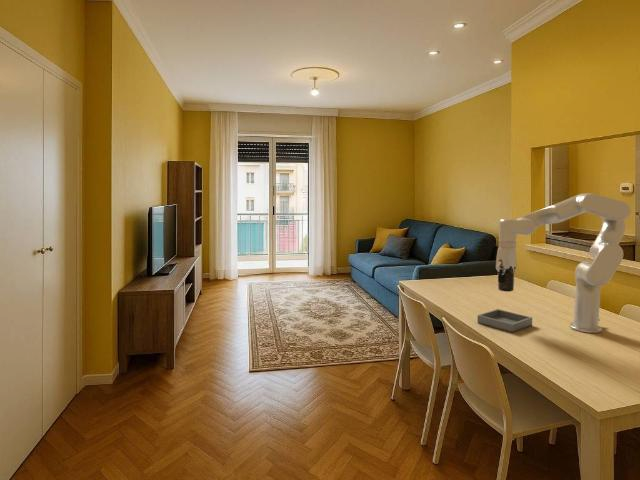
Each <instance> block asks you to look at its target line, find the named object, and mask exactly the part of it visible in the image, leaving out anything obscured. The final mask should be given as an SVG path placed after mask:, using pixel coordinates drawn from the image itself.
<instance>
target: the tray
mask: <svg viewBox="0 0 640 480" xmlns="http://www.w3.org/2000/svg"><path fill="white" fill-rule="evenodd" d="M476 323H477V324H479V323H480V325H483V324H484V325H483V326H486V325H487V327H490V328H493V329H496V330H500V331H504V332H507V333H511V334H513V333H514V334H515V333H517V332H519V331H522V330H524V329H526V328H530V327H532V326H533V317H531V316H527V315H523V314H519V313H515V312H512V311H507V310H503V309H498V308H496V309H492V310H490V311H487V312H486V311H485V312H484V313H481V314H480V313H479V314H477V322H476Z"/></svg>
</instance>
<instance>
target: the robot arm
mask: <svg viewBox="0 0 640 480" xmlns="http://www.w3.org/2000/svg"><path fill="white" fill-rule="evenodd" d="M584 213H588V214H591V215H594V216H598V217H600V218H601V221H602V226H601V229H600V231H599V233H598V234H597V236H596V238H595V240H594V241H593V243H592V244H591V246H590V248H589V255H590V257H591V258H592V259H593V261H587V260H586V261H582V262H580V263H578V264H577V266H576V267H575V269H574V278H575V295H574V297H575V298H574V312H573V313H574V315H573V322H570V324H569V328H571V329H572V330H575V331H577V332H581V333H588V334H590V333H591V334H598V333H601V332H603V328H602V327H601V326H600V325H599V322H600V320H601V319H600V317H599V315H600V303H601V302H600V300H601V288H602V287H604V286H606V285H607V284H608V283H609V282H610V281H611V279H612V278H613V276H614V274H615V273H616V272H617V270H618V268H619V267H620V265H621V263H622V261H623V258H624V250H623V248H622V246H620V243H621V240H622V239H623V237H624V235H625V232H626V221H625V220H627V219H628V218H629V217H630V215H631V213H632V209H631V207H630V205H629V204H628V203H626V202H624V201H622V200H618V199H614V198H611V197H608V196H604V195H600V194H597V193H591V192H589V193H588V192H587V193H586V192H584V193H579V194H576V195H574V196H571V197H569V198H568V199H567V198H566V199H565V200H562V201H560V202H557V203H555V204H553V205H549V206H547V207H544V208H542V209H539V210H535V211H533V212H530V213H528V214H525V215H523V216H521V217H518V218H517V219H515V218H501V219H499V223H498V224H499V227H498V228H499V229H498V230H499V231H498V232H499V233H498V248H497V251H496V252H497V253H496V258H495V259H496V260H495V269H496V272H497V282H499V283H505V275H504V274H505V270H506V269H509V267H510V266H512V270H511V271H513V272H514V273H515V272H516V269H517V266H518V263H517V250H516V249H517V235H523V236H529V235H532V234H534V233H535V232H536V231H537V228H538V227H541V226H544V225H549V224H552V225H553V224H559V223H561V222H565V221H568V220H570V219H572V218H574V217H576V216H579V215H582V214H584ZM502 267H504V268H502ZM502 270H503V272H502Z"/></svg>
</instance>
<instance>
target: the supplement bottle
mask: <svg viewBox="0 0 640 480" xmlns="http://www.w3.org/2000/svg"><path fill="white" fill-rule="evenodd" d="M502 268H504V267H502ZM511 270H512V266H510V267H509V269H506V270H505V274H504V275H505V283H499V282H498V281H497V282H498V284H497V285H498V286H497V288H498V291H501V292H507V293H509V292H513V291H514V289H515V288H514V287H515V272H513V271H511ZM502 272H503V270H502Z"/></svg>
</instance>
